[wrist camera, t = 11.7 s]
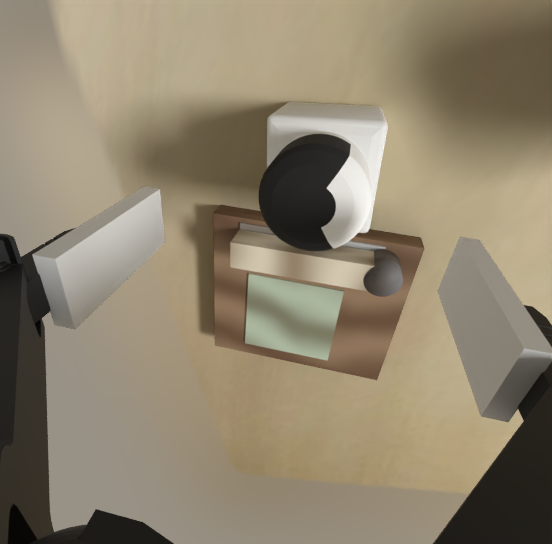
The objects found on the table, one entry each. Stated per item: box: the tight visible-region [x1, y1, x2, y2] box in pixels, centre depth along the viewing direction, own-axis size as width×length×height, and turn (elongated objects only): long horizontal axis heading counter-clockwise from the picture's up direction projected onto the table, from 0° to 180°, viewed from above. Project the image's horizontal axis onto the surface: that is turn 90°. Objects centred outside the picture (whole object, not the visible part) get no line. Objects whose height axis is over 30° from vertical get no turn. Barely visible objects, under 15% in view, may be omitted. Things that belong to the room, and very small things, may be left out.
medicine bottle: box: [259, 102, 388, 251], centre depth 23 cm, size 7×7×12 cm
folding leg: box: [230, 230, 403, 297], centre depth 30 cm, size 14×3×2 cm, turn 85°
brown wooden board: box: [214, 205, 424, 380], centre depth 35 cm, size 16×18×2 cm
